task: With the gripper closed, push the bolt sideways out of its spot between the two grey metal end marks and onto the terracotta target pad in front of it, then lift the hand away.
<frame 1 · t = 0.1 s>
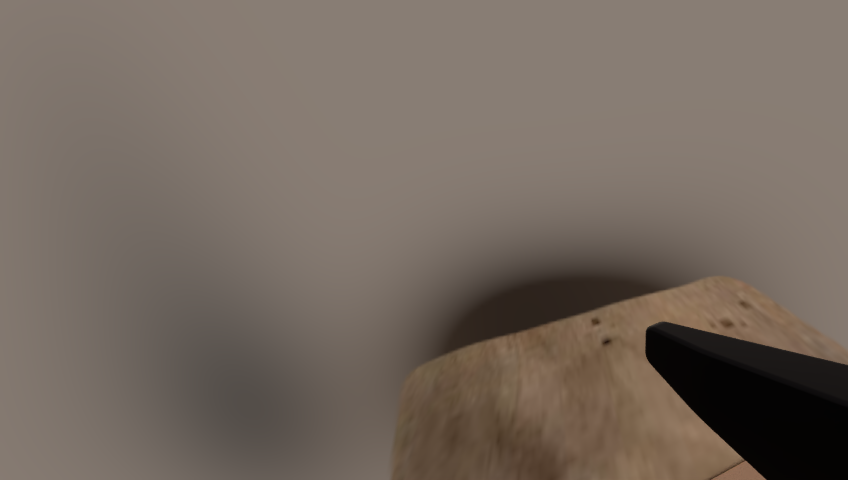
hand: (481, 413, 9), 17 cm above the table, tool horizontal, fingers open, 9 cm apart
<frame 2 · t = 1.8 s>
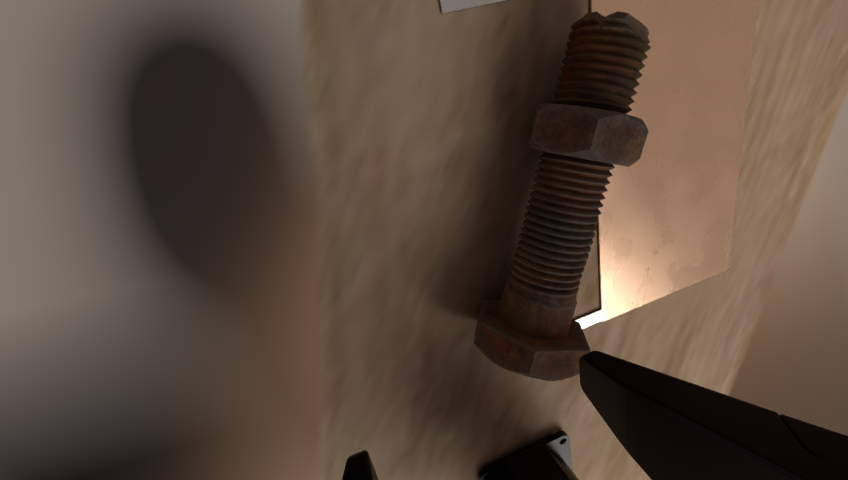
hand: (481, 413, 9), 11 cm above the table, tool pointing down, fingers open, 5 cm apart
bolt: (535, 190, 21), on the table, touching seat and pad
seat and pad: (537, 191, 21), on the table
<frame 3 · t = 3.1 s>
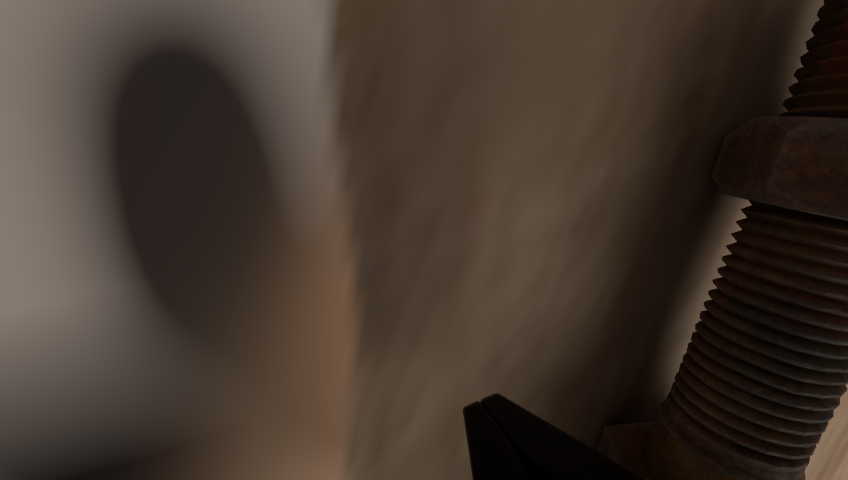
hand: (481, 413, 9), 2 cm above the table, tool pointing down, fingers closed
bolt: (702, 257, 13), on the table, touching seat and pad
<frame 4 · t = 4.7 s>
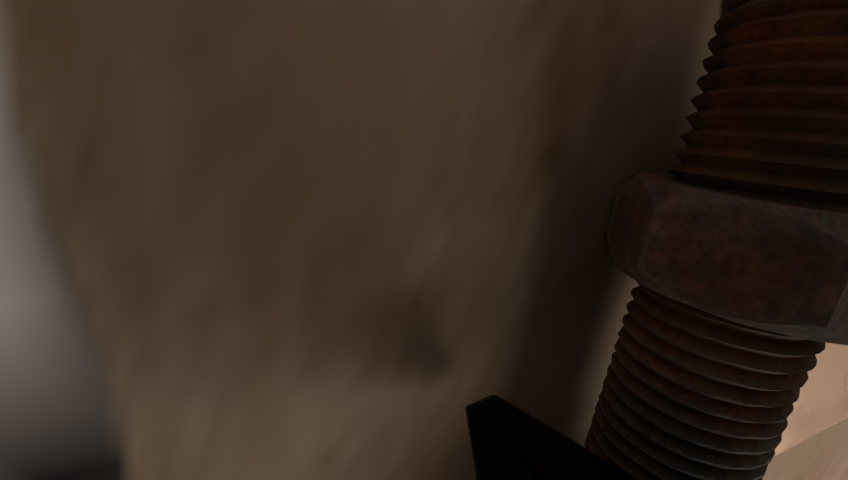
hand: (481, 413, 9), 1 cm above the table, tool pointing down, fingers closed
bolt: (613, 316, 11), on the table, touching gripper
seat and pad: (593, 329, 11), on the table
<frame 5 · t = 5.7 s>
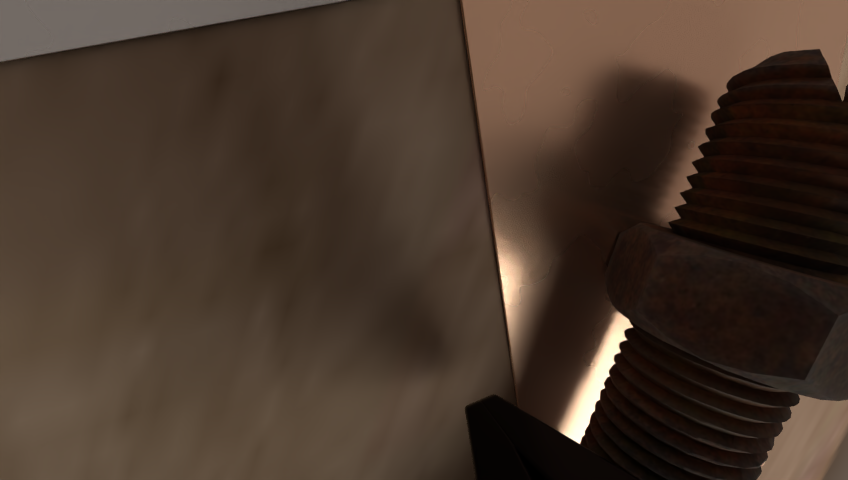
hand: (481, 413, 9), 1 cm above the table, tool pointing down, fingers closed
bolt: (602, 355, 12), resting on seat and pad, touching gripper
seat and pad: (381, 422, 10), on the table
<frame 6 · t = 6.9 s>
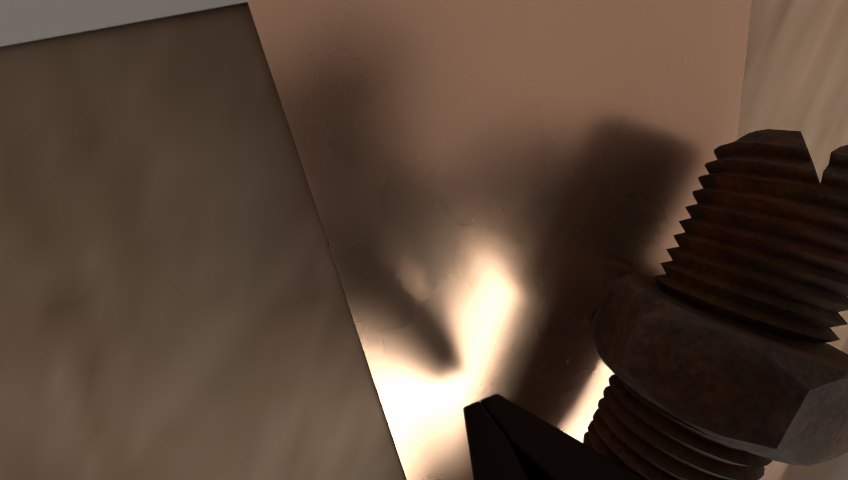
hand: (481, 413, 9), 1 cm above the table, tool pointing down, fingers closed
bolt: (587, 395, 12), resting on seat and pad
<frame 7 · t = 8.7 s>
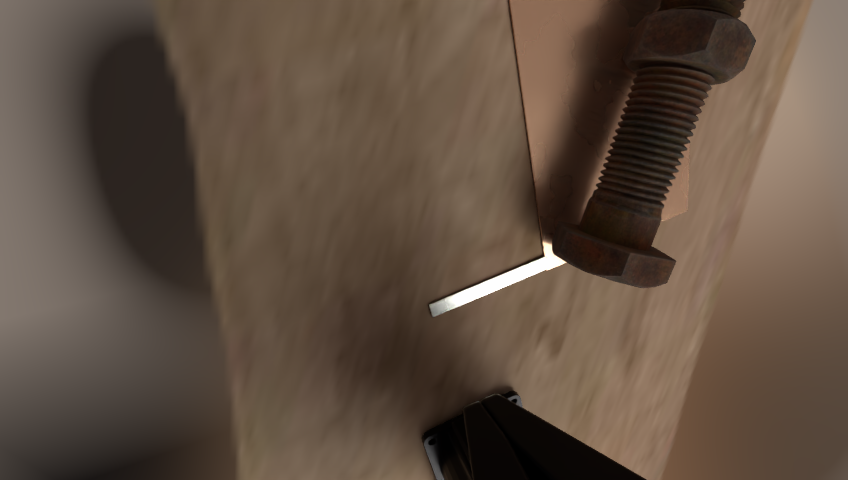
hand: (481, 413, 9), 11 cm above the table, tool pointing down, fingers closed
bolt: (619, 115, 21), resting on seat and pad
seat and pad: (454, 120, 19), on the table
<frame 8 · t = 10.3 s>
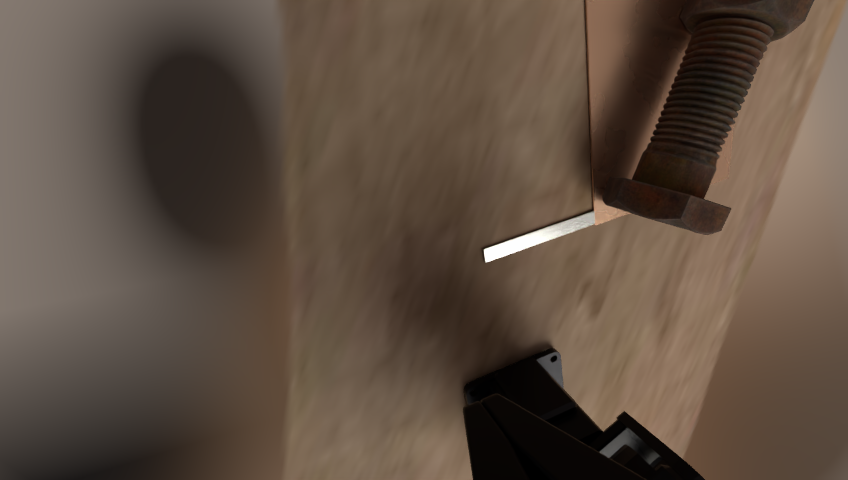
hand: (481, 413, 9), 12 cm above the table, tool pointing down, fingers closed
bolt: (672, 74, 22), resting on seat and pad
seat and pad: (523, 62, 19), on the table
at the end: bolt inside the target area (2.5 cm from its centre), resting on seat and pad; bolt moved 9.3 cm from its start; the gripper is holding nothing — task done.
